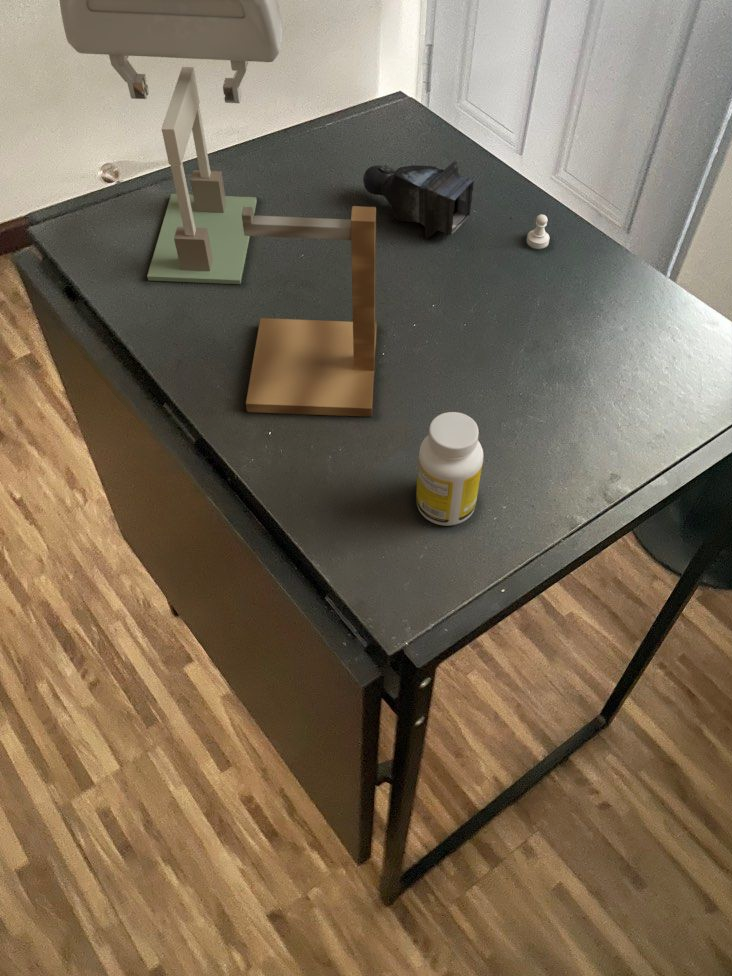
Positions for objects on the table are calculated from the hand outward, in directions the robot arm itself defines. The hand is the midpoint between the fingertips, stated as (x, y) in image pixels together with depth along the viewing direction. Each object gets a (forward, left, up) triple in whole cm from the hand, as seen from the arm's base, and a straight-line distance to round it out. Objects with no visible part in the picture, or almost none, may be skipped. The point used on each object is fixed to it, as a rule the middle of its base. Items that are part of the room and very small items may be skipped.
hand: (187, 98), depth 85 cm
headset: (0, -4, -14) cm, 14 cm away
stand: (+14, -23, -14) cm, 31 cm away
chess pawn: (+38, -1, -14) cm, 41 cm away
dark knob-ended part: (+24, +3, -14) cm, 28 cm away
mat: (0, -3, -14) cm, 15 cm away
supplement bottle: (+27, -39, -14) cm, 50 cm away
